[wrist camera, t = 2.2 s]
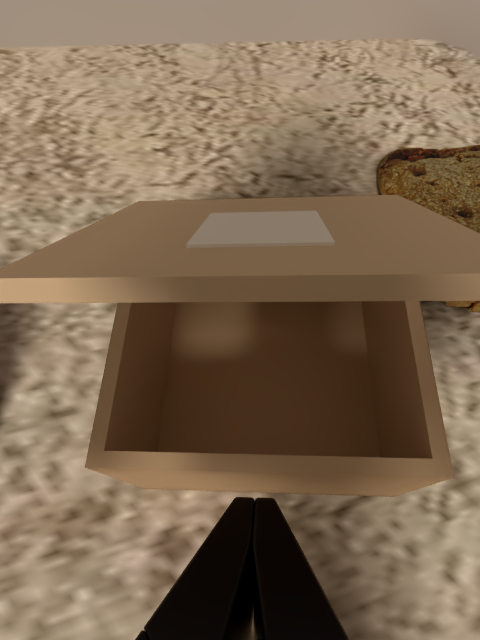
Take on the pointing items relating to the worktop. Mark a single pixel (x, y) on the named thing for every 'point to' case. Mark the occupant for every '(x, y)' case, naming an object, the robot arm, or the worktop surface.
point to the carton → (270, 399)
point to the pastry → (437, 185)
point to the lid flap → (256, 254)
